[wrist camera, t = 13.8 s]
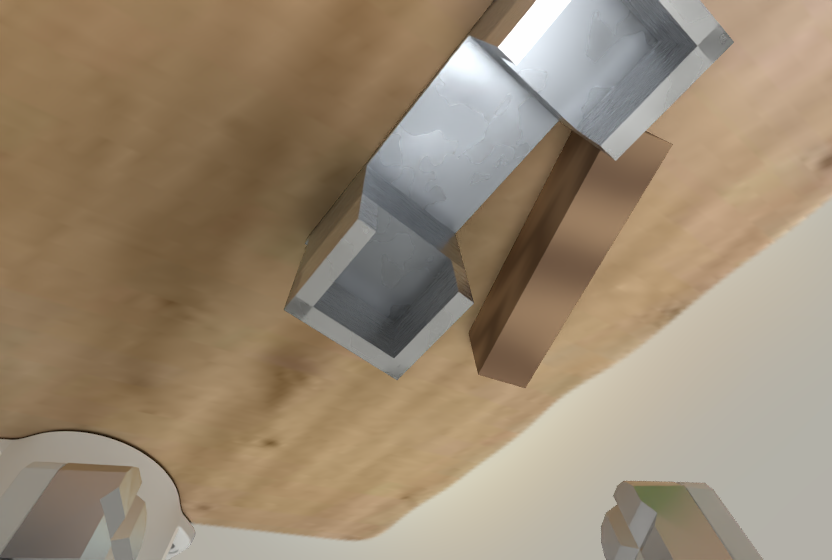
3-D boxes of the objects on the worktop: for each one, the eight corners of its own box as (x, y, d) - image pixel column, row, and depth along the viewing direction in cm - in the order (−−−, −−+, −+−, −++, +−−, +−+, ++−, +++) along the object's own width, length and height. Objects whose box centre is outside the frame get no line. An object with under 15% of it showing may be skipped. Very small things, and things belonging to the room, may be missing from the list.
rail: (509, 344, 38) (525, 388, 34) (468, 331, 38) (478, 374, 33) (633, 124, 31) (672, 144, 27) (584, 103, 31) (616, 120, 26)
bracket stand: (391, 296, 36) (391, 386, 28) (306, 238, 34) (277, 316, 25) (641, 23, 28) (744, 30, 20) (553, -76, 26) (629, -114, 18)
